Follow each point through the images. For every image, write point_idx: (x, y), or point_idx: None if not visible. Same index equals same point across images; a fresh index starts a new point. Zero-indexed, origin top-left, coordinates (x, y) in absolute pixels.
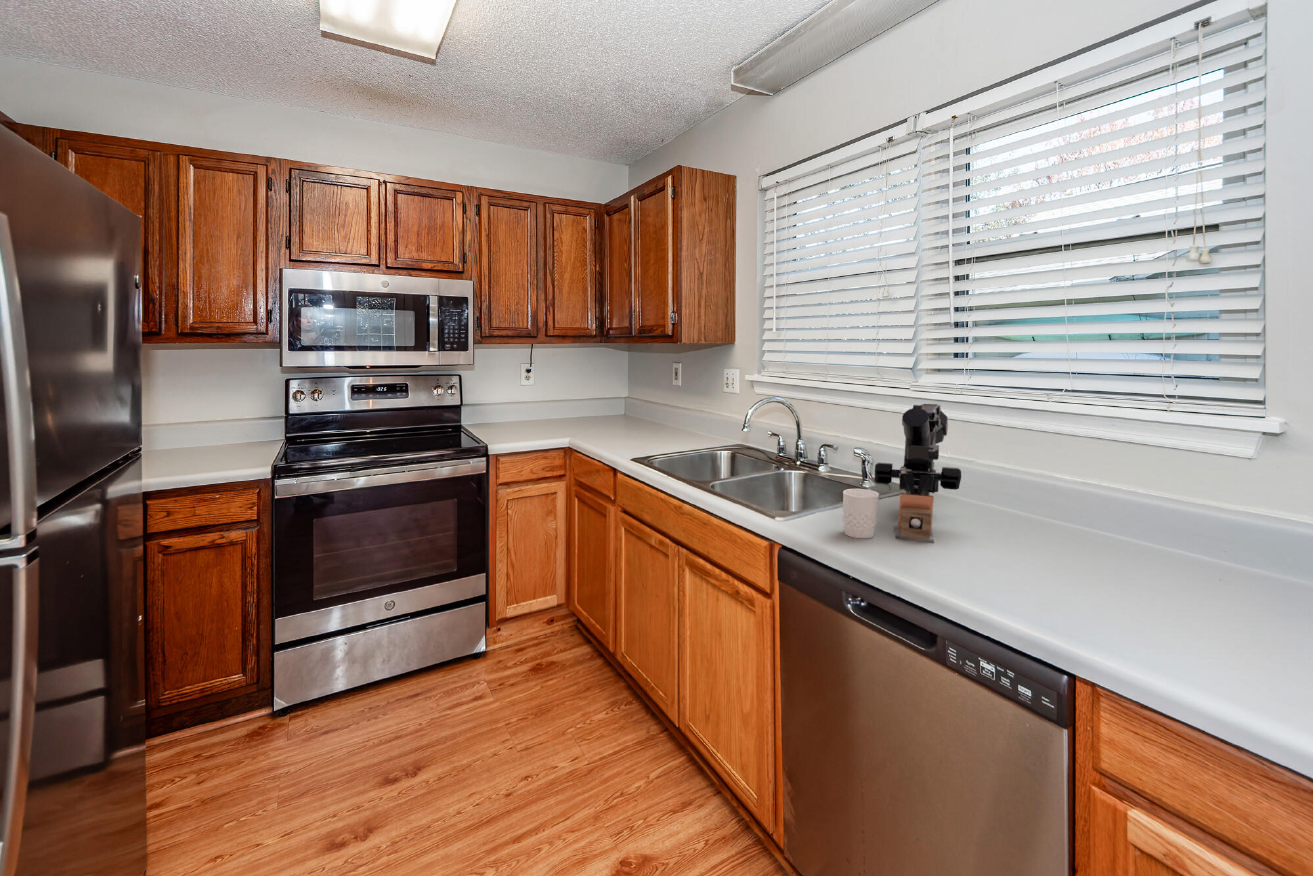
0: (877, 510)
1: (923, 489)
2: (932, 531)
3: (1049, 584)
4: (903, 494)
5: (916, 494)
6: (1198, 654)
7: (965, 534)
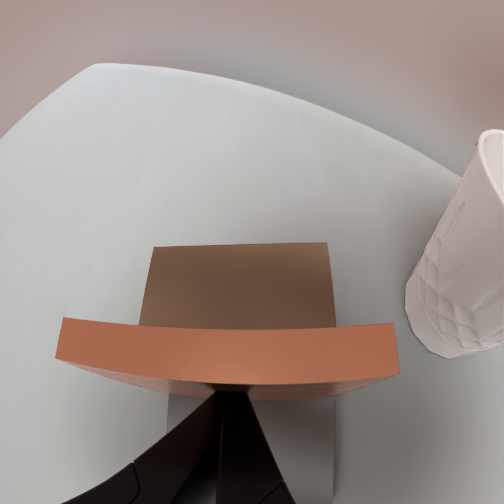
0: (448, 249)
1: (101, 486)
2: (167, 426)
3: (61, 155)
4: (359, 326)
5: (205, 373)
6: (62, 97)
7: (64, 439)
